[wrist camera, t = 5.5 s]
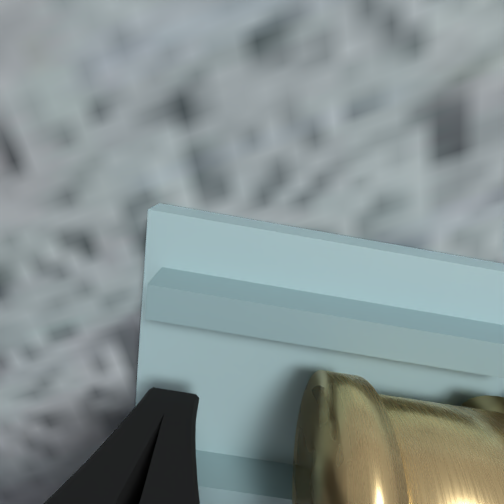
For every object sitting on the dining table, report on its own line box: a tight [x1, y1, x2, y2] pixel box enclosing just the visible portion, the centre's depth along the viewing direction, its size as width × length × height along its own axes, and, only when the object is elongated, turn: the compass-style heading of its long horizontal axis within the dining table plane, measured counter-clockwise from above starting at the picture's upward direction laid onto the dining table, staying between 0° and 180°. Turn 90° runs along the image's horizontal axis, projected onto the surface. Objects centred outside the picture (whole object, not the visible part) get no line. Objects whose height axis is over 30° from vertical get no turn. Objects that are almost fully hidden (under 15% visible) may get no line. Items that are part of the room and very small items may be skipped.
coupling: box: [292, 370, 504, 504], centre depth 8 cm, size 6×5×5 cm
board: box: [135, 203, 504, 504], centre depth 10 cm, size 11×15×2 cm
